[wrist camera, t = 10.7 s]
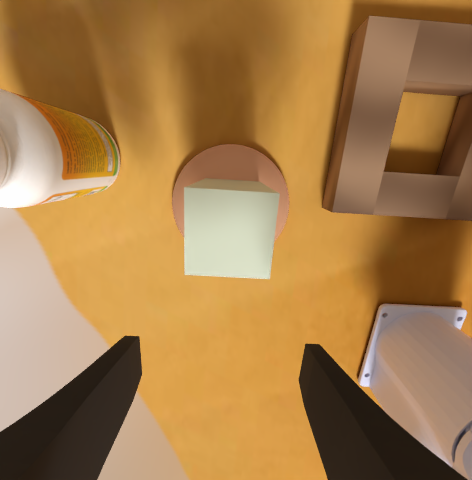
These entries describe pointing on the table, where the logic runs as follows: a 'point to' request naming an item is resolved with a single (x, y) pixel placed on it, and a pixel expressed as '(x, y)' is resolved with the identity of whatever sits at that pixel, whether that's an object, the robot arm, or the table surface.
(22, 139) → the supplement bottle
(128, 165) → the table surface
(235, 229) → the peg
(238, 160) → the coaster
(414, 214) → the block
